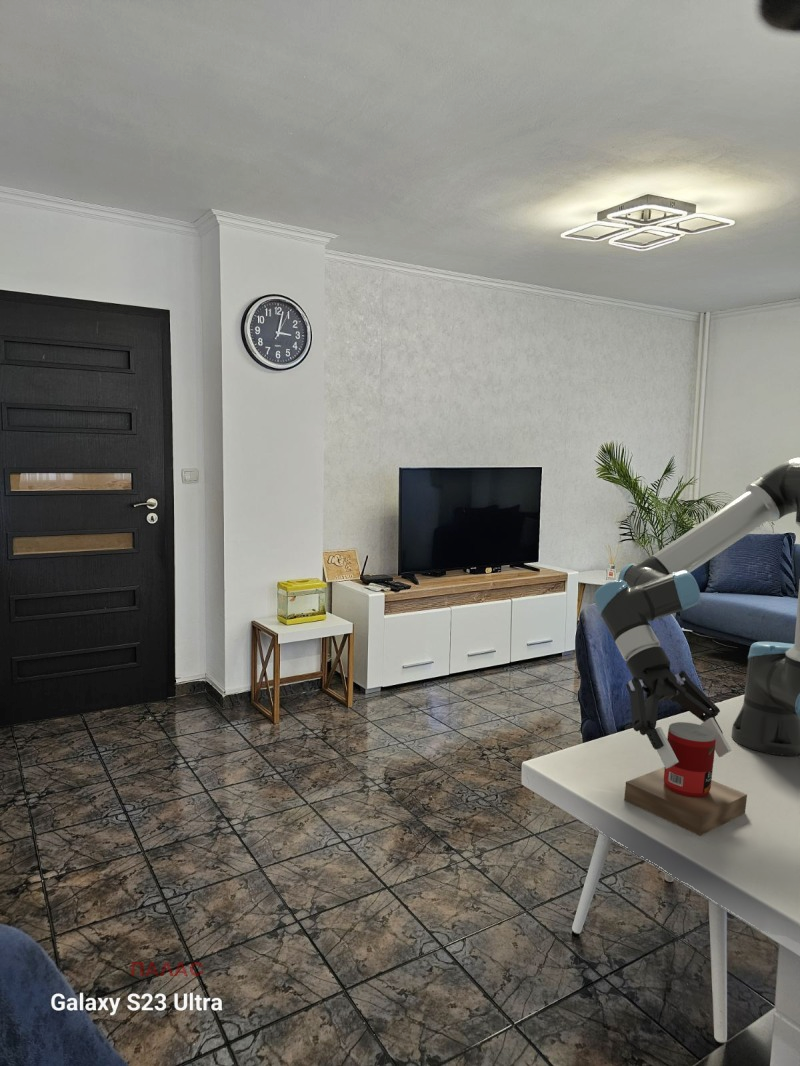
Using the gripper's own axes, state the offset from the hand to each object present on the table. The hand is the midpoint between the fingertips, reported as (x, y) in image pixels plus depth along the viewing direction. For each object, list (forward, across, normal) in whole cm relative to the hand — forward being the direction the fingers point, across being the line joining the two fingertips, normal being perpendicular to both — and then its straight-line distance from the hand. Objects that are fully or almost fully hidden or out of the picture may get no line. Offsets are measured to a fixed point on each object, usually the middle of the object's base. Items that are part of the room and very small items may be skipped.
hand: (699, 759), depth 133 cm
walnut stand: (+5, 0, -8) cm, 10 cm away
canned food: (+3, 0, -6) cm, 7 cm away
